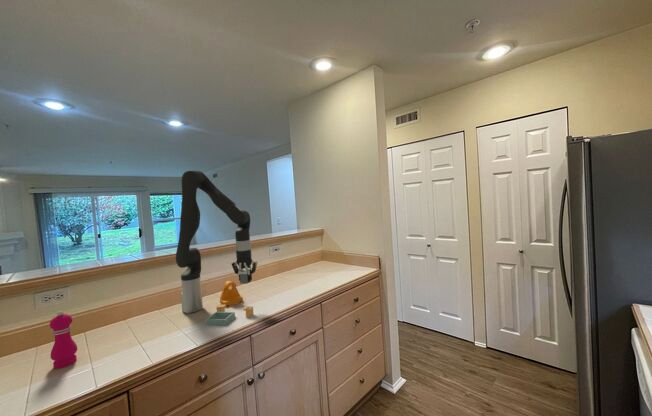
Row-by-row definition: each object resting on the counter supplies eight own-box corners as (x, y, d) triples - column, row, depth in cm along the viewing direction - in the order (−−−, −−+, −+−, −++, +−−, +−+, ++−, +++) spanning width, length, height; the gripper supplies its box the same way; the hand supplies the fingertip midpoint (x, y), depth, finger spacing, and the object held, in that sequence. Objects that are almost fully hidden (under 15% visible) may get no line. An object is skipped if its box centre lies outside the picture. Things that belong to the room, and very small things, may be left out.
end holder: (206, 324, 126) (205, 319, 126) (216, 316, 134) (215, 311, 134) (225, 325, 124) (225, 319, 124) (235, 317, 132) (234, 312, 132)
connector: (240, 283, 139) (239, 272, 138) (244, 281, 142) (243, 269, 142) (247, 283, 138) (246, 272, 138) (251, 281, 142) (250, 269, 142)
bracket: (224, 307, 146) (222, 285, 145) (220, 304, 151) (218, 283, 151) (243, 301, 152) (242, 280, 152) (238, 298, 158) (237, 278, 158)
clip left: (217, 314, 137) (216, 306, 136) (220, 312, 140) (219, 304, 139) (223, 314, 136) (223, 307, 136) (226, 312, 139) (226, 304, 139)
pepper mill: (83, 357, 104) (78, 306, 104) (66, 368, 97) (60, 314, 96) (64, 358, 104) (59, 307, 103) (45, 370, 97) (40, 316, 96)
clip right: (253, 314, 134) (252, 306, 134) (250, 317, 131) (250, 309, 131) (246, 314, 135) (246, 306, 134) (243, 317, 132) (243, 309, 131)
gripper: (227, 250, 137) (229, 283, 138) (253, 250, 135) (255, 283, 135) (234, 247, 144) (236, 279, 145) (259, 247, 142) (261, 279, 143)
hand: (245, 281), depth 140 cm, fingers closed on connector, 4 cm apart
